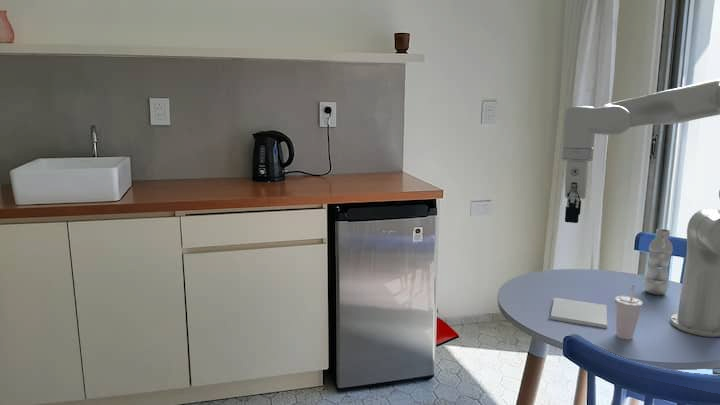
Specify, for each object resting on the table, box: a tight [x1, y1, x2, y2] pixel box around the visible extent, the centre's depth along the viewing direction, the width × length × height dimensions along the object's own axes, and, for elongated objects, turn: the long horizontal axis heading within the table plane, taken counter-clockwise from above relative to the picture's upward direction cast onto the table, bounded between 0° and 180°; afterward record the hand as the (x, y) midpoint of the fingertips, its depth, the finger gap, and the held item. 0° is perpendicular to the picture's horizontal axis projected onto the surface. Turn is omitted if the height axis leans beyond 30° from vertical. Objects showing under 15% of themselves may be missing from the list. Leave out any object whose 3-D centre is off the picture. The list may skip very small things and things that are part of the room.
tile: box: [549, 297, 608, 329], centre depth 148 cm, size 14×14×1 cm
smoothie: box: [613, 283, 644, 340], centre depth 133 cm, size 6×6×14 cm
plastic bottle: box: [643, 228, 674, 296], centre depth 161 cm, size 6×7×20 cm
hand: (572, 218), depth 142 cm, fingers open, 9 cm apart
